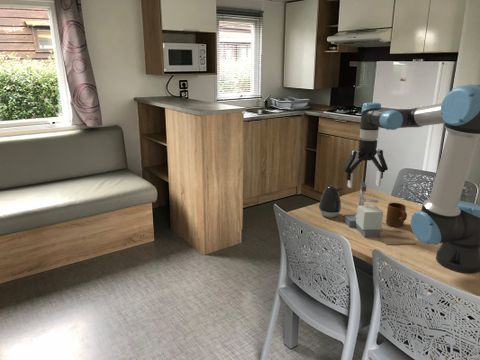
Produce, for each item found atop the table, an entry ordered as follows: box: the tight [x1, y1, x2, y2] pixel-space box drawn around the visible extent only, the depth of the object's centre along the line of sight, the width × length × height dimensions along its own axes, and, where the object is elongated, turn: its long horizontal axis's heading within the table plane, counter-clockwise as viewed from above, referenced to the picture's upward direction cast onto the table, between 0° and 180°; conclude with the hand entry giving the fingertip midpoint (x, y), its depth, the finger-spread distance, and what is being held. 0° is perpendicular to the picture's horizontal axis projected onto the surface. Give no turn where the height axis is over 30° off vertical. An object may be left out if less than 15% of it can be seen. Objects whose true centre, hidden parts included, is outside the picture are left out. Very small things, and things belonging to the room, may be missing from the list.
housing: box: [343, 213, 381, 238], centre depth 170 cm, size 18×12×4 cm, turn 5°
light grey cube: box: [356, 204, 384, 231], centre depth 164 cm, size 8×8×8 cm
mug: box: [385, 202, 408, 228], centre depth 172 cm, size 12×8×9 cm, turn 6°
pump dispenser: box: [318, 185, 344, 219], centre depth 183 cm, size 10×10×15 cm
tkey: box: [358, 181, 379, 206], centre depth 172 cm, size 8×8×15 cm
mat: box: [378, 230, 416, 246], centre depth 161 cm, size 12×12×1 cm
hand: (363, 186), depth 170 cm, fingers open, 13 cm apart
